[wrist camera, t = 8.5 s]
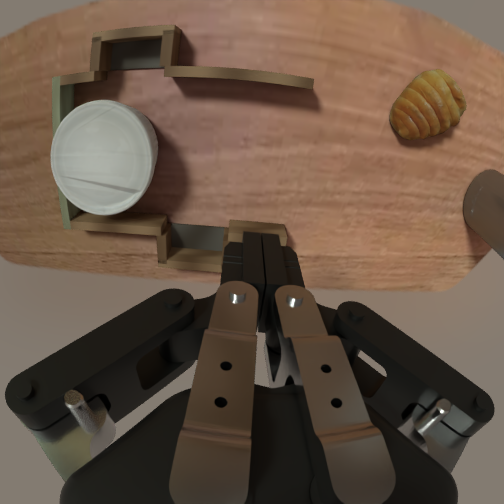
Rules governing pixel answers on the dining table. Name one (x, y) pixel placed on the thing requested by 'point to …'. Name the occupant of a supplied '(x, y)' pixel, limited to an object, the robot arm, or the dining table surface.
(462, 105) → the pastry
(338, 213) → the dining table surface
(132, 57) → the box
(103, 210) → the ramekin
